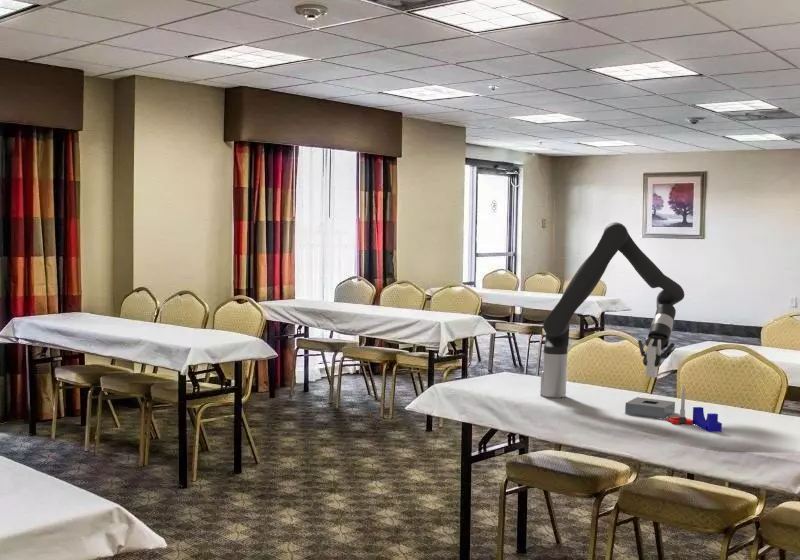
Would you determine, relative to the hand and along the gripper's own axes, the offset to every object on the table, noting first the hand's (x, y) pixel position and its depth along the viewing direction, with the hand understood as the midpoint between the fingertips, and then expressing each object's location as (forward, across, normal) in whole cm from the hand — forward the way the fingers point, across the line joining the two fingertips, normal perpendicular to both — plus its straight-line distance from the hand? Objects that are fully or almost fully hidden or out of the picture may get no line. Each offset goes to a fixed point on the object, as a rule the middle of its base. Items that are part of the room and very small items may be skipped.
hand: (650, 364), depth 315 cm
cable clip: (+20, +22, +6) cm, 31 cm away
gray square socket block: (+11, 0, +14) cm, 18 cm away
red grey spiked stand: (+17, +13, +9) cm, 23 cm away
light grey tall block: (+2, 0, +5) cm, 5 cm away
